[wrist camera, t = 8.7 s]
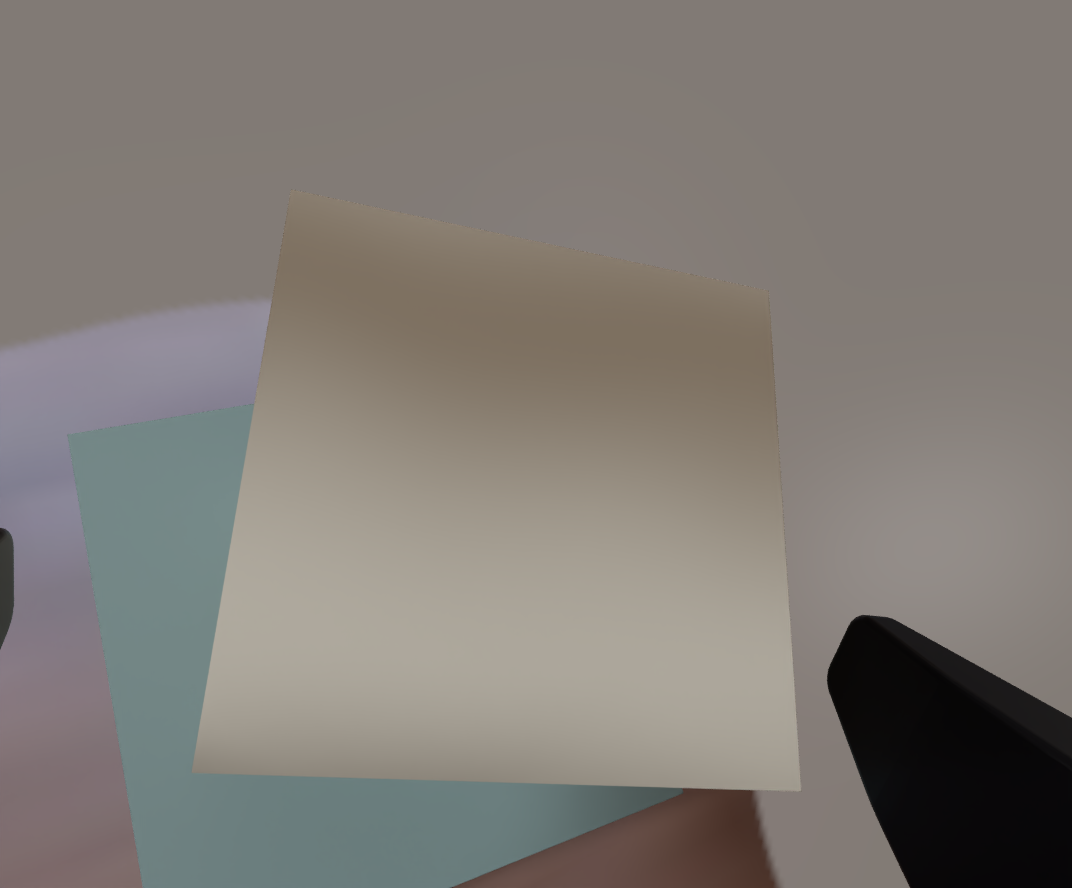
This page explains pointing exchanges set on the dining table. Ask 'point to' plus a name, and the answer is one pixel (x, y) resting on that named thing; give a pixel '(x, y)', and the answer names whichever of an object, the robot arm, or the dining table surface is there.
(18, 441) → the dining table surface
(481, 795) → the base block
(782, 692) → the cream block
